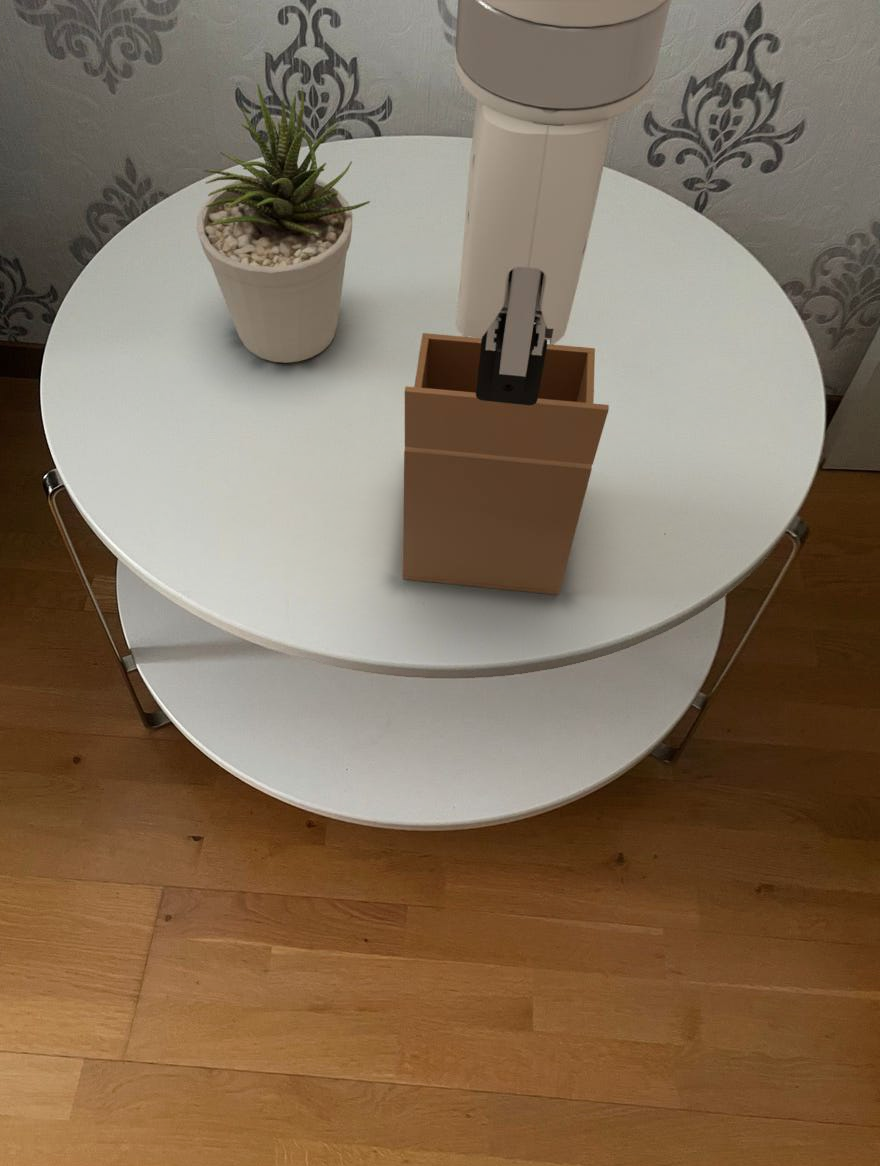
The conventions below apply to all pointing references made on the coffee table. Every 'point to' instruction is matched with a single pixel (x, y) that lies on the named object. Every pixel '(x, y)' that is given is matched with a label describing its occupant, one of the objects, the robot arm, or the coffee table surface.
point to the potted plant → (279, 245)
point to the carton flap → (503, 426)
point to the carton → (493, 487)
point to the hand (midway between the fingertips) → (506, 391)
